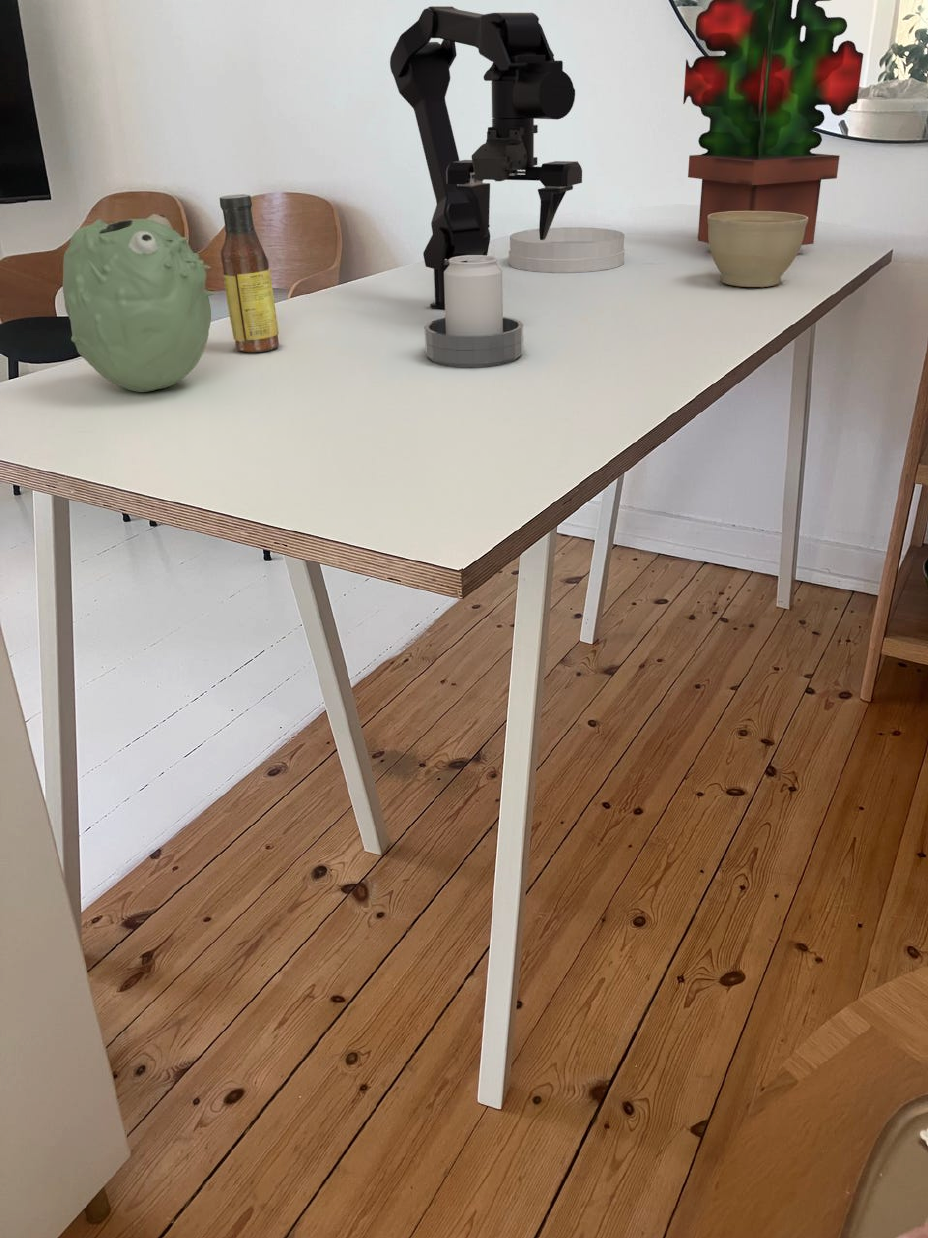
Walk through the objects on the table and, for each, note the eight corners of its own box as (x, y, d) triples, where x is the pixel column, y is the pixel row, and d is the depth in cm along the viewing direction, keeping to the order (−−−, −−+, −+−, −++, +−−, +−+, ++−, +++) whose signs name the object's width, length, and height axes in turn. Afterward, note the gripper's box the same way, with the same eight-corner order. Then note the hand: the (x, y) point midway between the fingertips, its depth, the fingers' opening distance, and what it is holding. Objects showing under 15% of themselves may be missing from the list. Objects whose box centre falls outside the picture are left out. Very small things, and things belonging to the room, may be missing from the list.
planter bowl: (795, 294, 171) (804, 223, 166) (695, 290, 176) (700, 220, 171) (804, 276, 185) (812, 210, 180) (710, 273, 190) (715, 208, 185)
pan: (408, 362, 138) (406, 331, 136) (455, 341, 148) (454, 312, 146) (495, 372, 133) (495, 340, 131) (538, 349, 142) (539, 319, 141)
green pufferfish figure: (120, 368, 139) (91, 205, 129) (249, 376, 134) (229, 207, 124) (44, 401, 126) (6, 223, 116) (184, 412, 120) (156, 226, 111)
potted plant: (673, 250, 214) (690, -9, 193) (762, 240, 222) (787, -9, 201) (743, 265, 196) (770, -18, 175) (836, 255, 204) (872, -18, 183)
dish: (643, 257, 207) (644, 230, 204) (592, 276, 190) (593, 246, 188) (543, 250, 217) (543, 224, 215) (487, 267, 201) (486, 239, 199)
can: (457, 343, 144) (455, 251, 139) (510, 346, 142) (509, 253, 137) (438, 356, 138) (434, 260, 133) (492, 360, 136) (491, 262, 130)
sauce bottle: (288, 344, 149) (272, 192, 139) (266, 355, 143) (248, 198, 134) (246, 342, 151) (228, 192, 141) (224, 352, 145) (203, 197, 136)
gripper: (424, 121, 142) (428, 243, 150) (551, 120, 134) (549, 249, 142) (463, 116, 151) (466, 232, 158) (585, 116, 143) (582, 238, 150)
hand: (513, 238), depth 152 cm, fingers open, 9 cm apart
